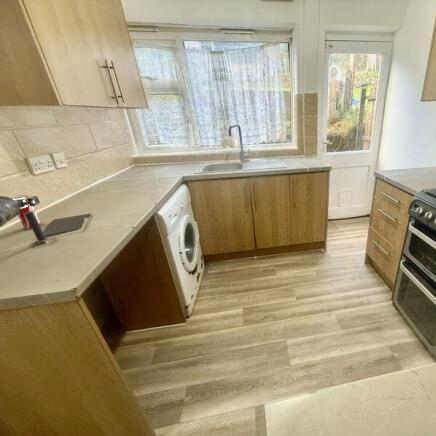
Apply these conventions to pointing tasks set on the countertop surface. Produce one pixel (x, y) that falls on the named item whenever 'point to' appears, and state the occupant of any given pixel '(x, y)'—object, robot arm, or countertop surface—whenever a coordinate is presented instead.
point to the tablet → (65, 225)
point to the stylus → (35, 227)
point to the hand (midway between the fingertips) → (14, 201)
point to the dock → (38, 243)
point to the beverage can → (24, 210)
